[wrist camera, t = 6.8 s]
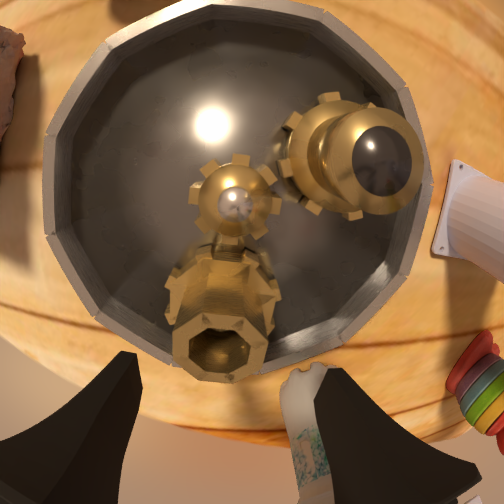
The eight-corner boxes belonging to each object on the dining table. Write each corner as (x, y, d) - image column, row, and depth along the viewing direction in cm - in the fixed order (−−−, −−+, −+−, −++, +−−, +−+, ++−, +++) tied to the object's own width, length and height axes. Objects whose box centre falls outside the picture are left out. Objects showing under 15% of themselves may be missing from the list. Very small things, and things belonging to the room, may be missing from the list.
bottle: (356, 372, 23) (430, 549, 5) (303, 407, 25) (343, 578, 6) (318, 341, 21) (400, 575, 3) (259, 383, 23) (286, 596, 4)
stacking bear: (498, 347, 26) (555, 415, 10) (456, 394, 29) (503, 469, 12) (484, 324, 24) (561, 410, 7) (433, 382, 26) (492, 479, 10)
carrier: (421, 70, 14) (481, 55, 7) (353, 349, 22) (382, 404, 16) (93, 22, 11) (46, -13, 5) (80, 322, 19) (46, 373, 13)
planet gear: (296, 304, 18) (316, 357, 13) (215, 353, 20) (212, 409, 14) (231, 222, 16) (230, 257, 11) (147, 287, 17) (120, 337, 12)
